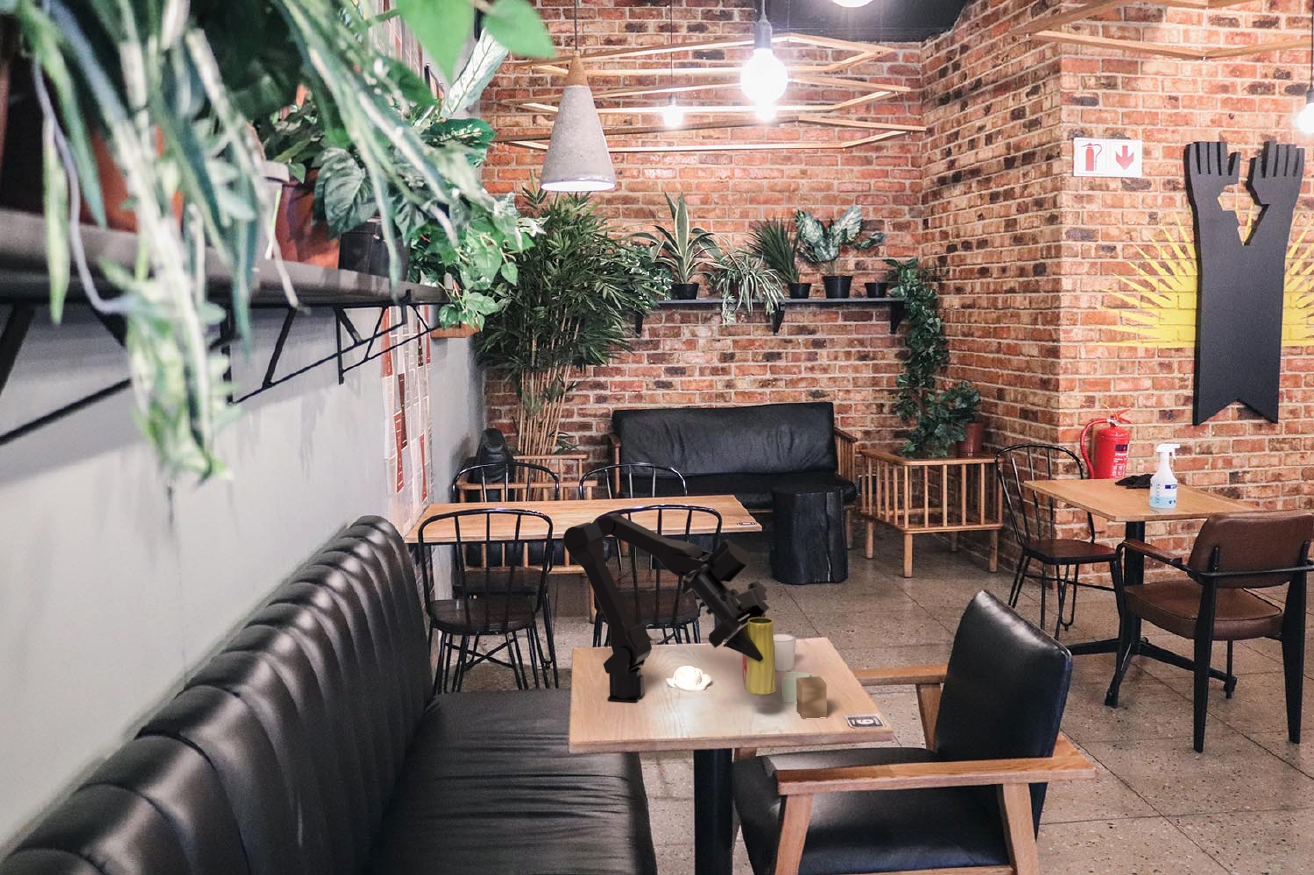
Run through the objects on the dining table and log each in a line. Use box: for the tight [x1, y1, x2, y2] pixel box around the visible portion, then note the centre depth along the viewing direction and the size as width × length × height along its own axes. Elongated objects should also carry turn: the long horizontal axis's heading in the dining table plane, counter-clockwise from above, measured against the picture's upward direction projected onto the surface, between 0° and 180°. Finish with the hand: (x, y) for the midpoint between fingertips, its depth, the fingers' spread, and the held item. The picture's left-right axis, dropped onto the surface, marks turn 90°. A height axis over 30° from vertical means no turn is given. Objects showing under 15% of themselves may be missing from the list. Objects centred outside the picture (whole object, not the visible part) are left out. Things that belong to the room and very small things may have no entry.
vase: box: [745, 616, 777, 695], centre depth 214 cm, size 6×6×14 cm
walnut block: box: [796, 676, 828, 720], centre depth 217 cm, size 5×5×7 cm
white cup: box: [773, 633, 797, 672], centre depth 248 cm, size 7×7×7 cm
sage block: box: [781, 670, 812, 704], centre depth 227 cm, size 5×5×5 cm
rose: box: [665, 665, 712, 693], centre depth 237 cm, size 10×4×10 cm
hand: (767, 656), depth 213 cm, fingers closed on vase, 5 cm apart
